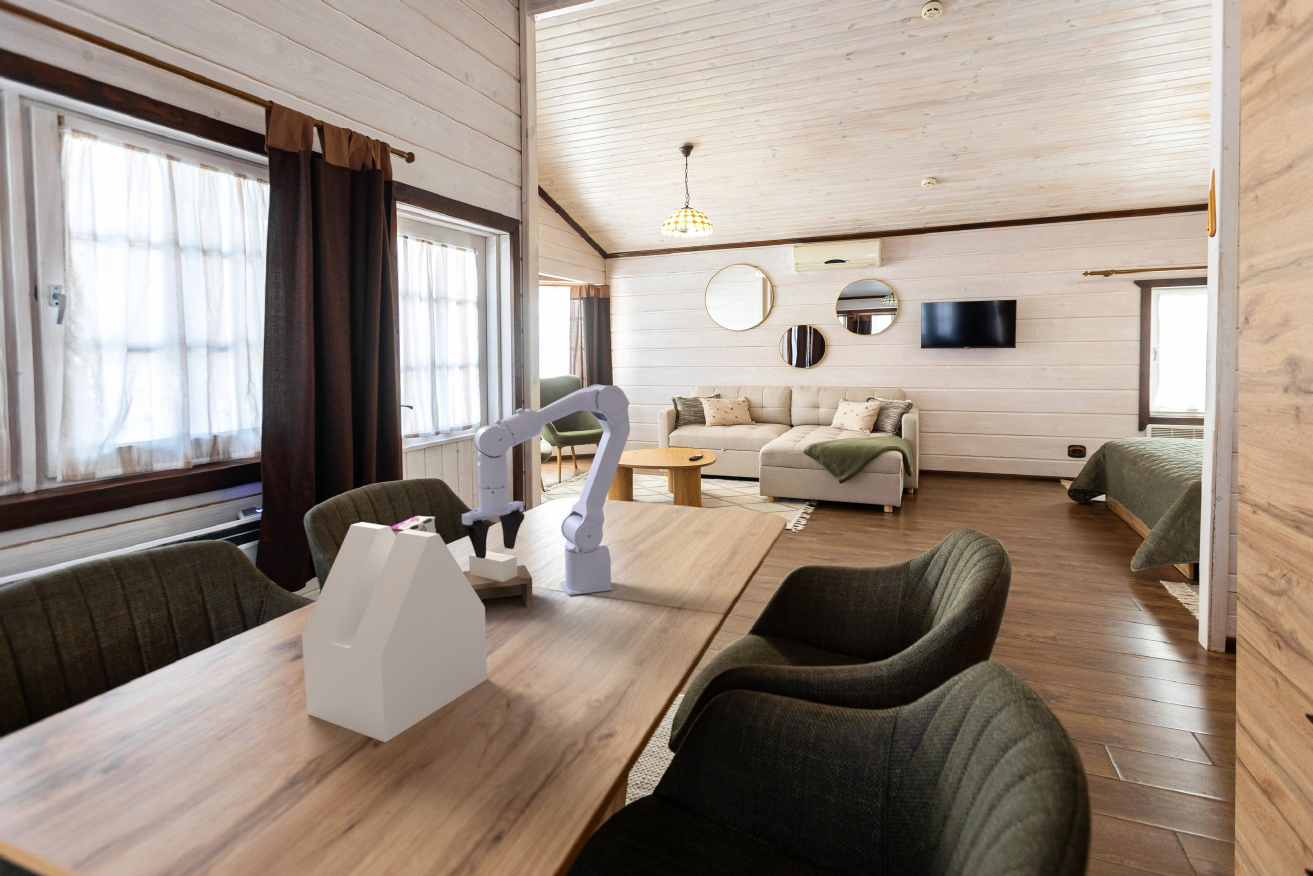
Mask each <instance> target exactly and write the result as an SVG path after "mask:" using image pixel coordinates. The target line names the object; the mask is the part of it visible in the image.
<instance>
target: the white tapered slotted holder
mask: <svg viewBox="0 0 1313 876" xmlns="http://www.w3.org/2000/svg"><path fill="white" fill-rule="evenodd" d="M390 527H391V526H390V525H383V524H377V523H372V522H371V523H370V522H364V521H360V522H357V523H353V524H350V526H349V527H348V528H349V529H348V531H347V532H346V534H345V537H344V540H343V541H342V544H341V546H340V548H339V551H338V553H337V555H336V557H335V559H334V562H333V564H332V567H331V568H330V571H329V574H328V575H327V578H326V580H325V582H324V585H323V586H322V589H321V592H320V594H319V595H318V598H317V600H316V602H315V605H314V607H313V609H312V610H311V613H310V616H309V618H308V620H307V623H306V624H305V628H304V629H303V632H302V633H301V641H302V643H301V644H302V657H303V670H304V671H303V672H304V687H305V699H306V700H305V701H306V702H305V703H306V714H307V715H309V716H312V717H315V718H317V719H319V720H320V719H321V720H323V721H325V722H329V723H331V724H334V725H335V726H339V727H341V728H346V729H347V730H350V731H353V732H356V733H359V734H361V735H364V736H367V737H369V738H372V739H376V740H378V741H381V742H384V743H386V742H388V741H390V740H391V739H393V738H394V737H396V736H398V735H400V734H402V732H404V731H406V730H407V729H409V728H410V727H412V726H414V725H416V724H417V723H419V722H420V721H422V720H424V719H426V718H427V717H428V716H430V715H432V714H433V713H435V712H437V711H438V710H440V709H441V708H443V707H445V706H447V705H448V704H449V703H451V702H452V701H454V700H456V699H457V698H459V697H460V696H462V695H464V694H466V693H467V692H469V691H470V690H472V689H473V688H475V687H477V686H478V685H480V684H482V683H484V682H485V681H486V680H488V661H487V632H486V631H487V629H486V626H487V625H486V607H485V604H484V603H483V602H482V600H480V599H479V597H478V595H477V594H476V592H475V591H474V589H473V587H472V586H471V584H470V583H469V581H468V579H467V578H466V576H465V575H464V573H463V572H464V571H463V569H462V568H461V567H460V565H459V563H458V562H457V560H456V559H455V557H454V555H453V554H452V553H451V551H450V548H448V546H447V545H446V543H445V542H444V540H443V538H442V537H441V534H440V533H437V532H436V533H430V532H424V531H417V530H411V529H408V530H404V531H401V532H398V533H397V536H396V535H395V533H394V532H393V530H392V529H391V528H390Z"/></svg>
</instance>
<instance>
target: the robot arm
mask: <svg viewBox="0 0 1313 876" xmlns="http://www.w3.org/2000/svg"><path fill="white" fill-rule="evenodd" d="M629 405H630V401H629V399H628V397H627V395H626V394H625V392H624V390H623V389H622V388H620V387H619V386H617V385H603V384H599V383H594V384H592V385H589V386H587V387H583V388H580V389H577V390H575V391H573V392H571V393H569V394H568V395H566V396H563V397H562V398H559V399H557V400H555V401H554V402H551V403H549V404H548V405H546V406H544V407H542V408H540V409H537V410H533V409H531V408H525V409H524V408H521V407H520V408H518V409H516V410H515V414H512V415H510V416H507V417H506V418H503V419H501V420H500V419H499V418H497V419H496V420H494V421H493V422H494V425H483V426H482V427H481V428H479V429H478V430H477V432H476V433H475V435H474V439H473V440H472V442H473V446H474V447H475V449H476V450H477V465H476V466H477V468H476V469H477V489H478V490H477V491H478V508H475V509H473V510H470V511H468V512H465V513H462V514H461V525H462V528H463V530H464V531H465V533H466V534H467V536H468V538H469V540H470V542H471V545H472V547H473V550H474V551H473V552H474V553H475V555H476V557H478V558H485V557H486V551H487V537H488V533H489V529H490V525H489V524H484V522H483V521H486V520H489V519H493V518H497V517H498V518H499V520H500V524H501V528H502V538H503V539H502V541H503V546H504V547H503V548H505V549H508V550H514V548H515V546H516V540H517V536H518V532H519V529H520V528H521V525H522V523H523V521H524V520H525V513H523V512H524V501H518V500H515V501H510V502H509V490H508V489H509V487H508V486H509V484H508V462H507V452H508V451H509V449H510V447H511V448H513V447H515V446H518V445H520V444H522V443H523V442H525V441H527V440H530V439H532V438H534V437H537V436H538V435H541V433H542V431H543V429H544V426H546V425H547V424H550V423H552V422H556V421H557V420H560V419H562V418H564V417H567V416H569V415H570V414H574V413H576V412H590V414H591V415H593V416H594V417H595V418H596V419H597V421H598V423H599V425H600V427H601V429H602V432H603V433H602V435H601V439H600V441H599V443H598V446H597V450H596V452H595V455H594V458H593V460H592V464H591V467H590V468H589V472H588V475H587V477H586V480H585V482H584V486H583V488H582V492H581V495H580V497H579V499H578V500H577V502H575V503H574V504H573V505H572V507H571V509H570V512H569V514H568V515H567V516H565V518H564V519H563V521H562V523H561V525H560V530H561V534H562V536H563V537H564V538H565V539H566V543H565V545H564V555H565V556H564V557H565V558H564V559H565V561H564V563H565V564H564V566H565V581H560V585H561V587H562V588H563V589H564V591H565V593H566V594H567V595H568V596H575V595H582V594H592V593H599V592H607V591H611V590H613V589H612V577H611V575H612V573H611V572H612V563H611V553H610V550H609V547H608V546H607V545H600V544H601V542H602V541H603V537H604V533H603V528H604V527H603V526H604V522H605V514H604V509H603V508H604V506H605V502H606V500H607V497H608V494H609V492H610V489H611V486H612V483H613V480H614V477H615V474H616V472H617V469H618V467H619V463H620V460H621V458H622V455H623V453H624V449H625V447H626V443H627V440H628V438H629V435H630V431H631V426H630V418H629V417H630V416H629V410H628V409H629Z"/></svg>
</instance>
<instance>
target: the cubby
mask: <svg viewBox="0 0 1313 876" xmlns="http://www.w3.org/2000/svg"><path fill="white" fill-rule="evenodd" d="M463 573H464V575H465V576H466V578H467V579H468V581H469V583H470V584H471V586H472V587H473V589H474V591H475V592H476V594H477V595H478V597H479V599H480V600H481V601H482V600H488V599H490V600H491V599H497V598H504V597H505V596H507V597H513V595H515V596H521V597H522V599H523V600H524V601H523V602H525V605H526V608H527V609H528V608H530V607H531V608H533V607H534V605H533V604H534V603H533V602H534V601H533V599H534V597H533V595H534V594H533V577H532V574H531V573H530V571H529V570H528V568H527V566H526V565H525V564H522V565H517V576H516V577H514V578H511V579H509V580H506V581H504V582H502V581H497V580H493V579H488V578H484V577H479V576H475V575H471V574H470V570H466V571H463ZM505 598H506V597H505Z"/></svg>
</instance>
